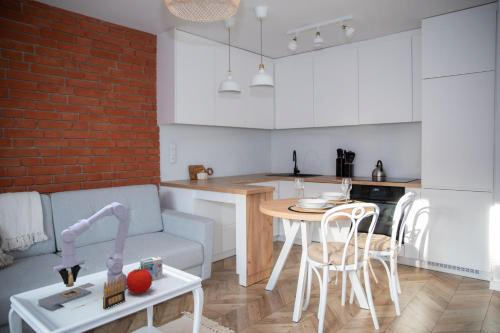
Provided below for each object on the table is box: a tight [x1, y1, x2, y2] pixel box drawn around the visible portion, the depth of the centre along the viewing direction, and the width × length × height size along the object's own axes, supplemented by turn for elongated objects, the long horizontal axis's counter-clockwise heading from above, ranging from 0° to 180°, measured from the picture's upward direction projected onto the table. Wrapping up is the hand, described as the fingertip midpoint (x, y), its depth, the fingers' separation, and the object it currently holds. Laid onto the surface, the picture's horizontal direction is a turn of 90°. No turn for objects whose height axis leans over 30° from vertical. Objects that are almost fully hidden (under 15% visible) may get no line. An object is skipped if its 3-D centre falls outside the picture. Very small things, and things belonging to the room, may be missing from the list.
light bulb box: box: [139, 255, 163, 281], centre depth 202 cm, size 11×7×11 cm, turn 123°
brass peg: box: [65, 271, 75, 288], centre depth 176 cm, size 4×4×6 cm
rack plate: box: [37, 286, 92, 312], centre depth 174 cm, size 12×19×3 cm, turn 146°
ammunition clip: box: [102, 276, 126, 310], centre depth 168 cm, size 11×2×12 cm, turn 148°
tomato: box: [126, 266, 153, 295], centre depth 182 cm, size 12×13×12 cm
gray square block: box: [77, 282, 95, 290], centre depth 189 cm, size 6×6×2 cm
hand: (70, 282), depth 175 cm, fingers closed on brass peg, 3 cm apart
